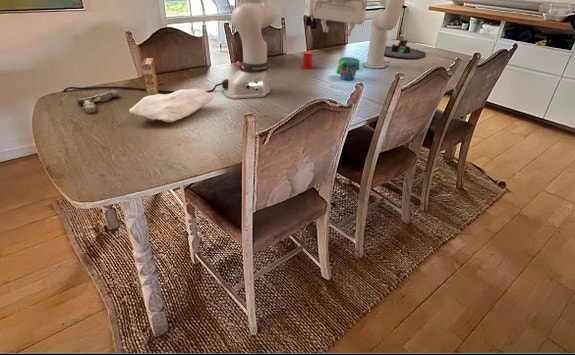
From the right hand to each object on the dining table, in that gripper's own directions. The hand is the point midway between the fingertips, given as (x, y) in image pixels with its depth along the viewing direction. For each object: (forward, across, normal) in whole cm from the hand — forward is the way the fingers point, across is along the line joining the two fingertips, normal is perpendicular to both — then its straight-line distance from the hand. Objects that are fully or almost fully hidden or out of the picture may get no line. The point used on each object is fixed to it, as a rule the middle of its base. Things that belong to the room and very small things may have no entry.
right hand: (311, 27), depth 201 cm
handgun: (+18, +45, -105) cm, 116 cm away
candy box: (+19, +36, -84) cm, 94 cm away
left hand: (-10, +68, -9) cm, 70 cm away
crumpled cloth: (+20, +60, -75) cm, 98 cm away
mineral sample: (+25, -30, +73) cm, 82 cm away
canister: (+22, 0, -2) cm, 22 cm away
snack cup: (+23, +23, +15) cm, 36 cm away
